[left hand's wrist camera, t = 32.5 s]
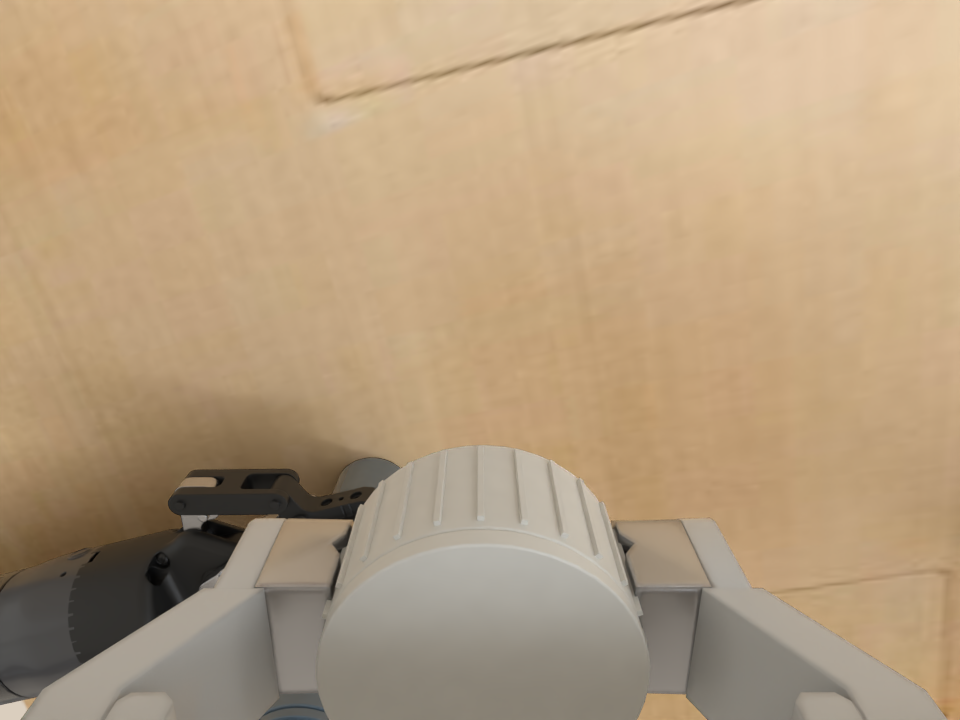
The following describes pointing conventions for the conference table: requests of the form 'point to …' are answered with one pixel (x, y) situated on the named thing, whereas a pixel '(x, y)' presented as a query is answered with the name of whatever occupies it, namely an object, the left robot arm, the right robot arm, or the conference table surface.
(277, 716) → the bottle
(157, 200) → the conference table surface
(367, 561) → the cap
